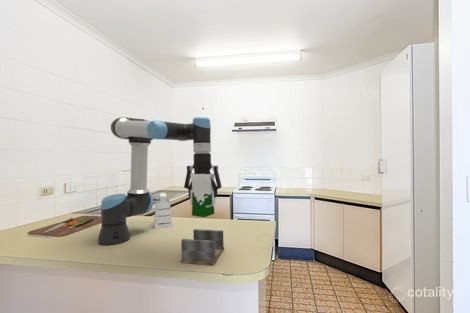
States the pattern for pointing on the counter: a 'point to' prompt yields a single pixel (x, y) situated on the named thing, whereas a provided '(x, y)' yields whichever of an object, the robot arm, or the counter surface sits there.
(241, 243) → the counter surface
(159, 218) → the grater
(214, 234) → the carton caddy
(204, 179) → the soya milk
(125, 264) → the counter surface
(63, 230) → the chopping board
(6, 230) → the counter surface
